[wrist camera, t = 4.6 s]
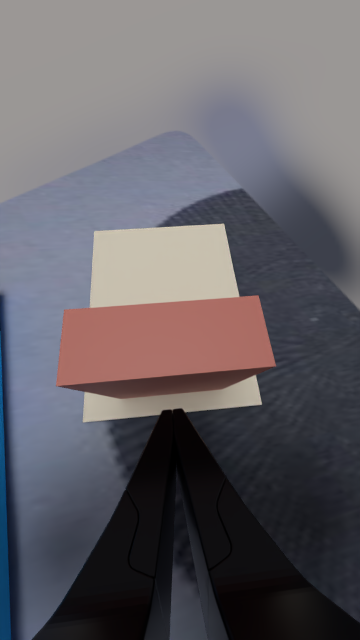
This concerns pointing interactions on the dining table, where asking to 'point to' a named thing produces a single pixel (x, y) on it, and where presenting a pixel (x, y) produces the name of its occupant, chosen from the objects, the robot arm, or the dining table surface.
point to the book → (3, 533)
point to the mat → (164, 286)
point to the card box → (163, 347)
